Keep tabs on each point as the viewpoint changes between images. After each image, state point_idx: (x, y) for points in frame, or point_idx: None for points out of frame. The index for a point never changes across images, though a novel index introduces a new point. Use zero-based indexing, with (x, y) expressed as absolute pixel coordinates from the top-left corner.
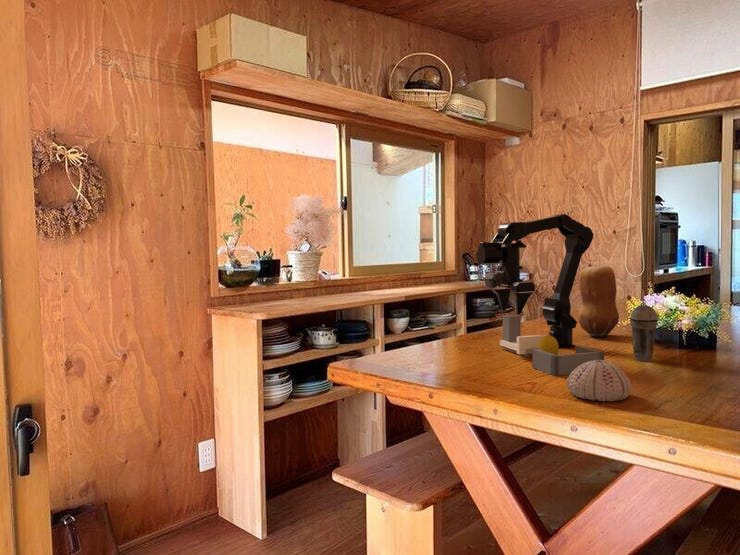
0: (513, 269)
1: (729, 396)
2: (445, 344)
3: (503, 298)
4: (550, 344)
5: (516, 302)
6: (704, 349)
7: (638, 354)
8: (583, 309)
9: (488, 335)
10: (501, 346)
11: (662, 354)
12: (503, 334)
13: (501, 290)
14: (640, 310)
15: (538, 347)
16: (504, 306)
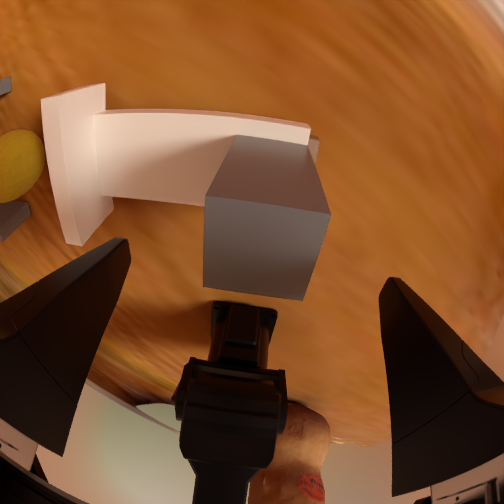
0: None
1: None
2: (493, 30)
3: (422, 385)
4: None
5: (33, 294)
6: (137, 404)
7: None
8: (298, 450)
9: (491, 267)
10: (315, 138)
11: (107, 366)
12: (301, 152)
13: (460, 459)
14: None
15: (10, 135)
16: (391, 318)
